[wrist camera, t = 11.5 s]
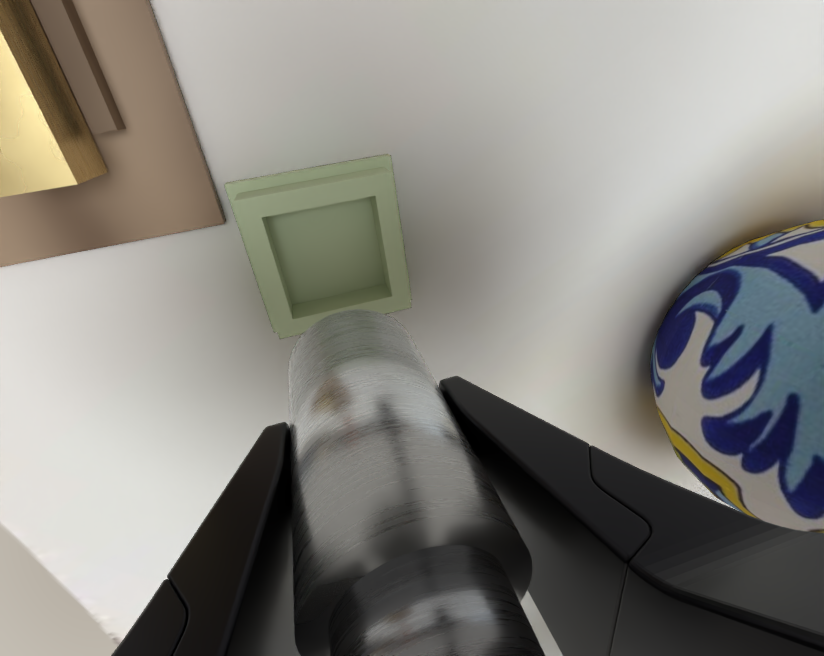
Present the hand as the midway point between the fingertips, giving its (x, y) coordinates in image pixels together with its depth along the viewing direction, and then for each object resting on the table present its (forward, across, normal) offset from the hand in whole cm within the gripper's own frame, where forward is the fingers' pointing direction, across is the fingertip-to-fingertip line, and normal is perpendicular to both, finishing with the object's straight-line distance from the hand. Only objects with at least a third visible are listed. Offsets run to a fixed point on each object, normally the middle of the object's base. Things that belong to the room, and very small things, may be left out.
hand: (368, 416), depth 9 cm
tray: (+13, 0, 0) cm, 13 cm away
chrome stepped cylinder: (+2, 0, 0) cm, 2 cm away
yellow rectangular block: (+12, +8, -7) cm, 16 cm away
